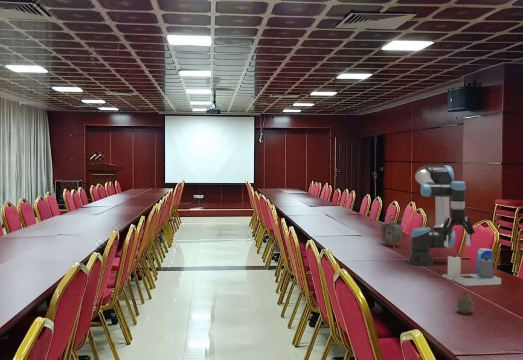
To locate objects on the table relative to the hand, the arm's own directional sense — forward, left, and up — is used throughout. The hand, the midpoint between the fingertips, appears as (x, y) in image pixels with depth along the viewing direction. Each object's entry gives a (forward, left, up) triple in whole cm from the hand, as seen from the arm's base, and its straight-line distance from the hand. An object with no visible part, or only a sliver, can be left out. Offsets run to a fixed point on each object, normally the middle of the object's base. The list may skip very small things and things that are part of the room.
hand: (457, 246), depth 277 cm
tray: (0, -1, -19) cm, 19 cm away
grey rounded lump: (+57, -30, -19) cm, 67 cm away
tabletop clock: (-106, +10, -19) cm, 109 cm away
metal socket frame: (+11, +5, -19) cm, 23 cm away
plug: (0, -1, -18) cm, 18 cm away
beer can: (-3, +20, -19) cm, 28 cm away
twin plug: (+11, +11, -18) cm, 24 cm away
